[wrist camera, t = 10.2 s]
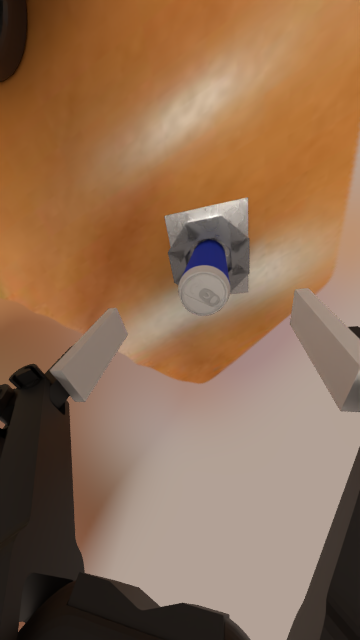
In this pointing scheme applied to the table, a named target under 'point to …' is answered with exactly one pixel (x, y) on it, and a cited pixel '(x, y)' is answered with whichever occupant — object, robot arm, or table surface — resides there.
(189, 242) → the socket
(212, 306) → the beverage can
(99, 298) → the table surface
